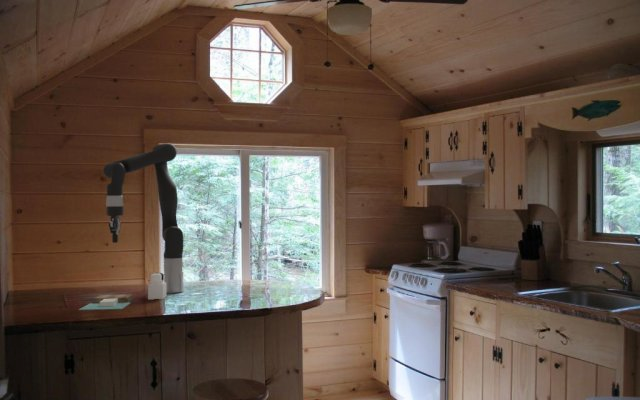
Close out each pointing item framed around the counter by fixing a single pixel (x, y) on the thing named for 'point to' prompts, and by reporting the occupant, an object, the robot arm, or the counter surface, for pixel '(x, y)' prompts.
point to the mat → (97, 306)
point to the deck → (121, 298)
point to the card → (109, 302)
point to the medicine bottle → (157, 287)
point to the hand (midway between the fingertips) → (115, 242)
